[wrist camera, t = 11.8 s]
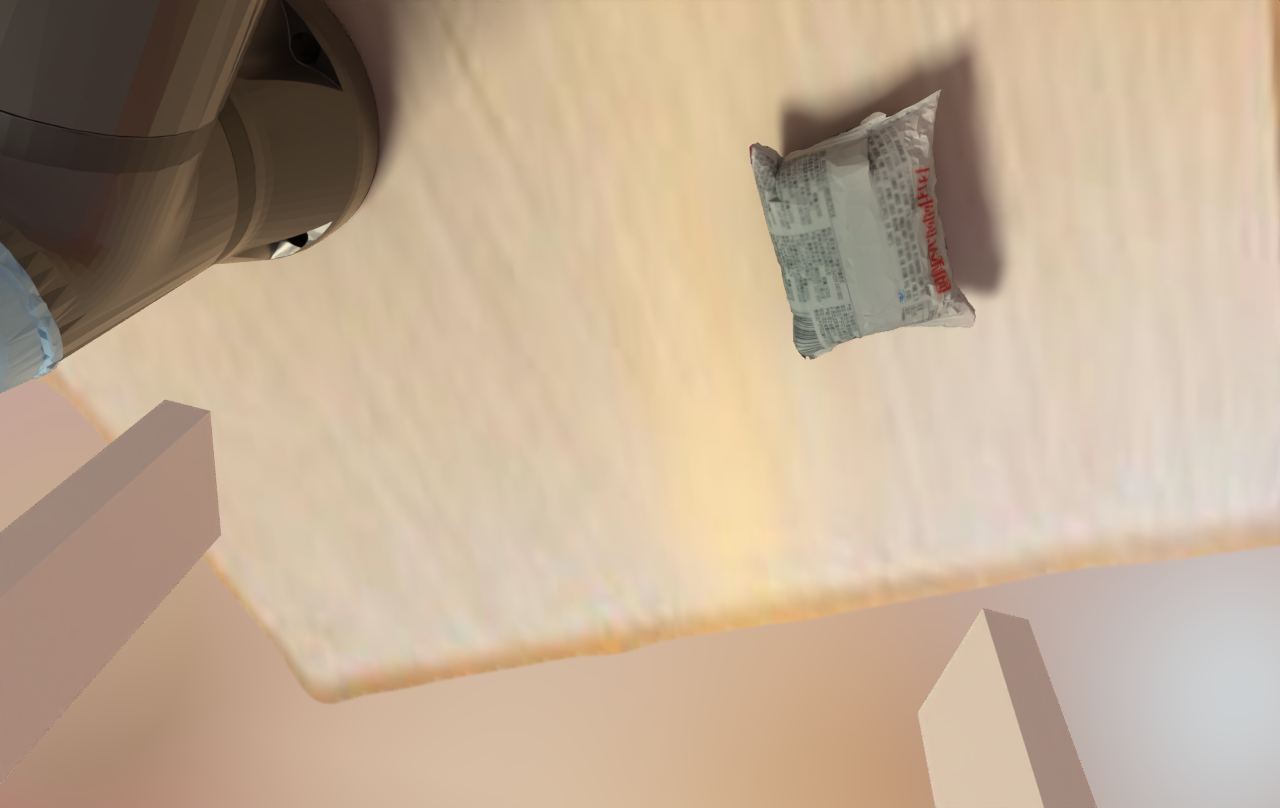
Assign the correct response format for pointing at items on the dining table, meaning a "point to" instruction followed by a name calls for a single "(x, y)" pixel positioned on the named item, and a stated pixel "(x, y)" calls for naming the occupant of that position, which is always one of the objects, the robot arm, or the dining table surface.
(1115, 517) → the dining table surface
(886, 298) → the packaged food
